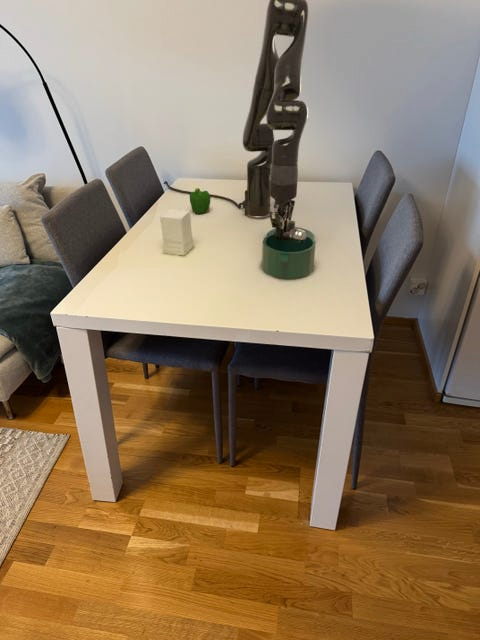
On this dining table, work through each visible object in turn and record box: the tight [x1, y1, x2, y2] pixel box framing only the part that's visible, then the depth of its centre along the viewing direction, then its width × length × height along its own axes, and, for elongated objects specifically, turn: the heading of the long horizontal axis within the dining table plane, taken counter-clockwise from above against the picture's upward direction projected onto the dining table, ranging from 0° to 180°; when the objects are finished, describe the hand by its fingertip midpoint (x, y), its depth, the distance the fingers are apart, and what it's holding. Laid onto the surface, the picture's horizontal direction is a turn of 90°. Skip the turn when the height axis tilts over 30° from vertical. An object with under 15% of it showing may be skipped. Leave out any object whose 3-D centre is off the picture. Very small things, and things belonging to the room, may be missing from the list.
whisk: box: [273, 229, 307, 243], centre depth 132 cm, size 10×4×4 cm, turn 62°
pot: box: [261, 232, 317, 280], centre depth 135 cm, size 16×21×8 cm
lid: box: [266, 220, 315, 240], centre depth 155 cm, size 17×17×6 cm
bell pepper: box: [189, 187, 211, 215], centre depth 176 cm, size 8×8×10 cm
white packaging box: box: [159, 208, 194, 256], centre depth 145 cm, size 7×7×13 cm
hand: (281, 237), depth 134 cm, fingers closed on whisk, 2 cm apart
